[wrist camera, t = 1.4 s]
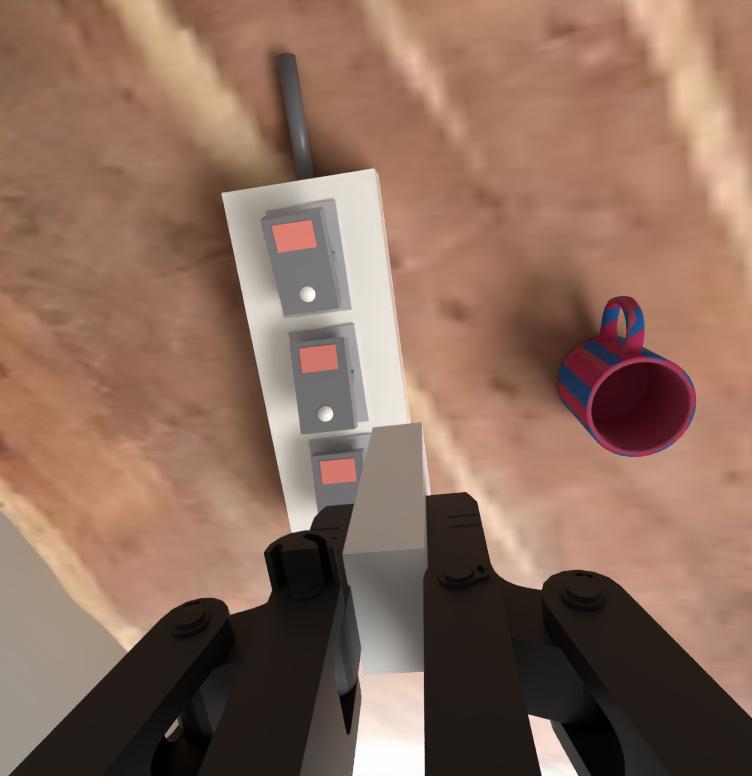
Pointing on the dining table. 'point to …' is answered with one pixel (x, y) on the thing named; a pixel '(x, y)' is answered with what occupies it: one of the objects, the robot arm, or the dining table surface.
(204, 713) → the robot arm
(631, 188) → the dining table surface
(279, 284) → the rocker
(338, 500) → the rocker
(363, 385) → the strip
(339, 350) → the rocker mid
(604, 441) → the mug
